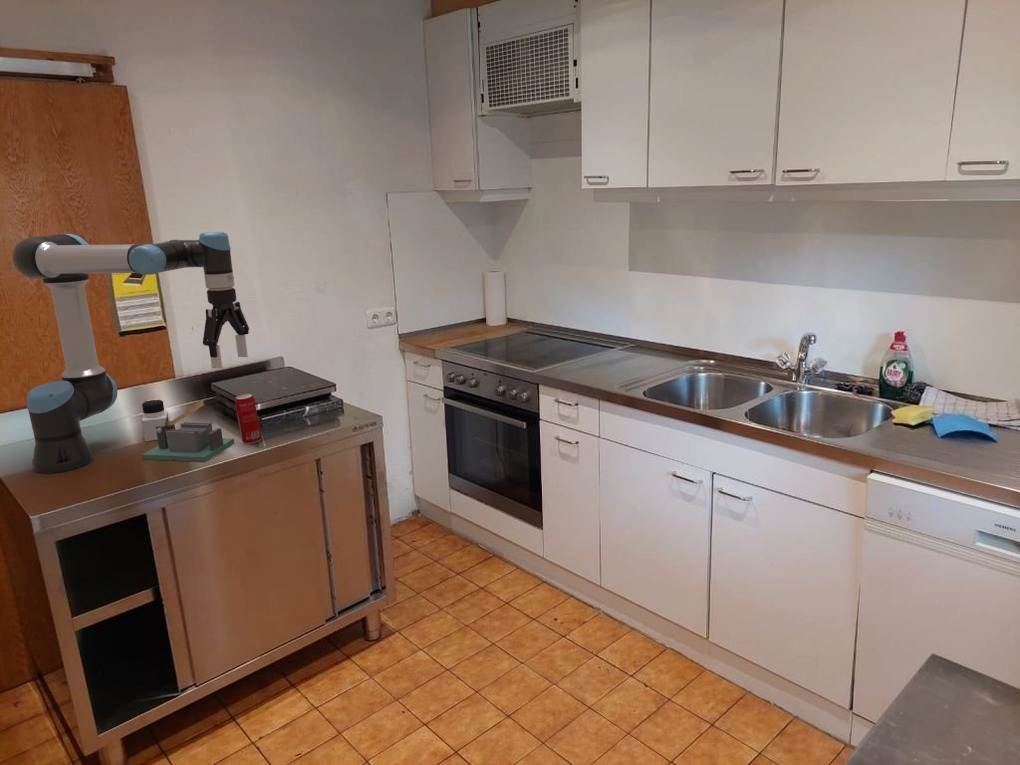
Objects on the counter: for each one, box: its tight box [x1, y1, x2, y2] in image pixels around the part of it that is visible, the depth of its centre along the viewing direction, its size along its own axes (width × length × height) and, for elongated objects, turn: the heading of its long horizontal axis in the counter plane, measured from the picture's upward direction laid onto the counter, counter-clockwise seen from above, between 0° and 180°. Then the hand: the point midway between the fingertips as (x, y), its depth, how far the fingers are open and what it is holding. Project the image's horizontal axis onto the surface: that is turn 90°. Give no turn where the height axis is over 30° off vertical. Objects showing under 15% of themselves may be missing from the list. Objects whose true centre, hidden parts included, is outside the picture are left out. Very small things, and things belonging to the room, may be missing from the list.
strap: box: [165, 399, 205, 429], centre depth 222 cm, size 16×4×2 cm, turn 79°
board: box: [142, 420, 235, 463], centre depth 223 cm, size 20×16×8 cm
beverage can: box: [234, 393, 262, 445], centre depth 229 cm, size 6×6×15 cm
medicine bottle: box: [141, 398, 170, 442], centre depth 237 cm, size 7×7×12 cm
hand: (230, 362), depth 213 cm, fingers open, 13 cm apart
